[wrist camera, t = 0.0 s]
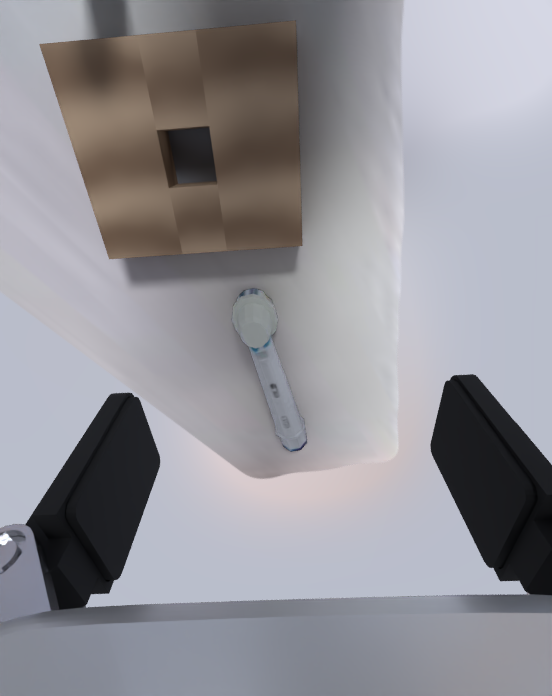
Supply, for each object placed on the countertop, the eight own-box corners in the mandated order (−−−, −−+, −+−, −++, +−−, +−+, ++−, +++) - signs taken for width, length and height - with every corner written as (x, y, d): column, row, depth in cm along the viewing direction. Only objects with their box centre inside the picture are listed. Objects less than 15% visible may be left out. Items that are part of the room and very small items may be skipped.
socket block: (66, 54, 30) (39, 44, 27) (293, 34, 30) (296, 20, 26) (123, 248, 39) (109, 259, 36) (300, 236, 38) (302, 246, 35)
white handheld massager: (279, 455, 52) (221, 323, 36) (277, 420, 57) (226, 291, 41) (313, 449, 51) (269, 312, 35) (308, 414, 56) (269, 281, 41)
